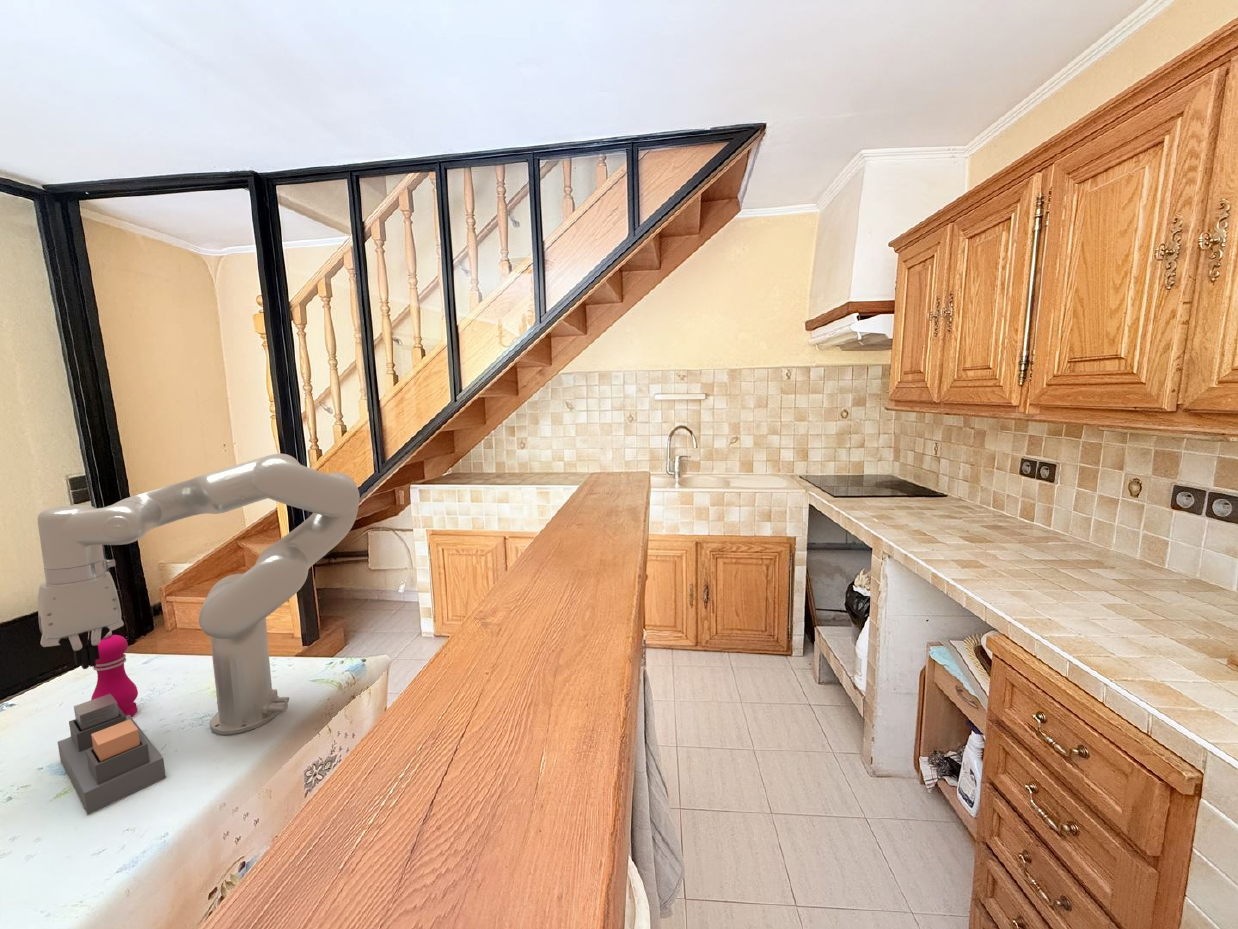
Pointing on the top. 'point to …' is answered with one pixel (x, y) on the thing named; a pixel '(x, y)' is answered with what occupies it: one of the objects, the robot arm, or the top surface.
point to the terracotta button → (115, 739)
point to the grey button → (96, 711)
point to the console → (108, 766)
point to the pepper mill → (115, 674)
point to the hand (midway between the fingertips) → (88, 665)
